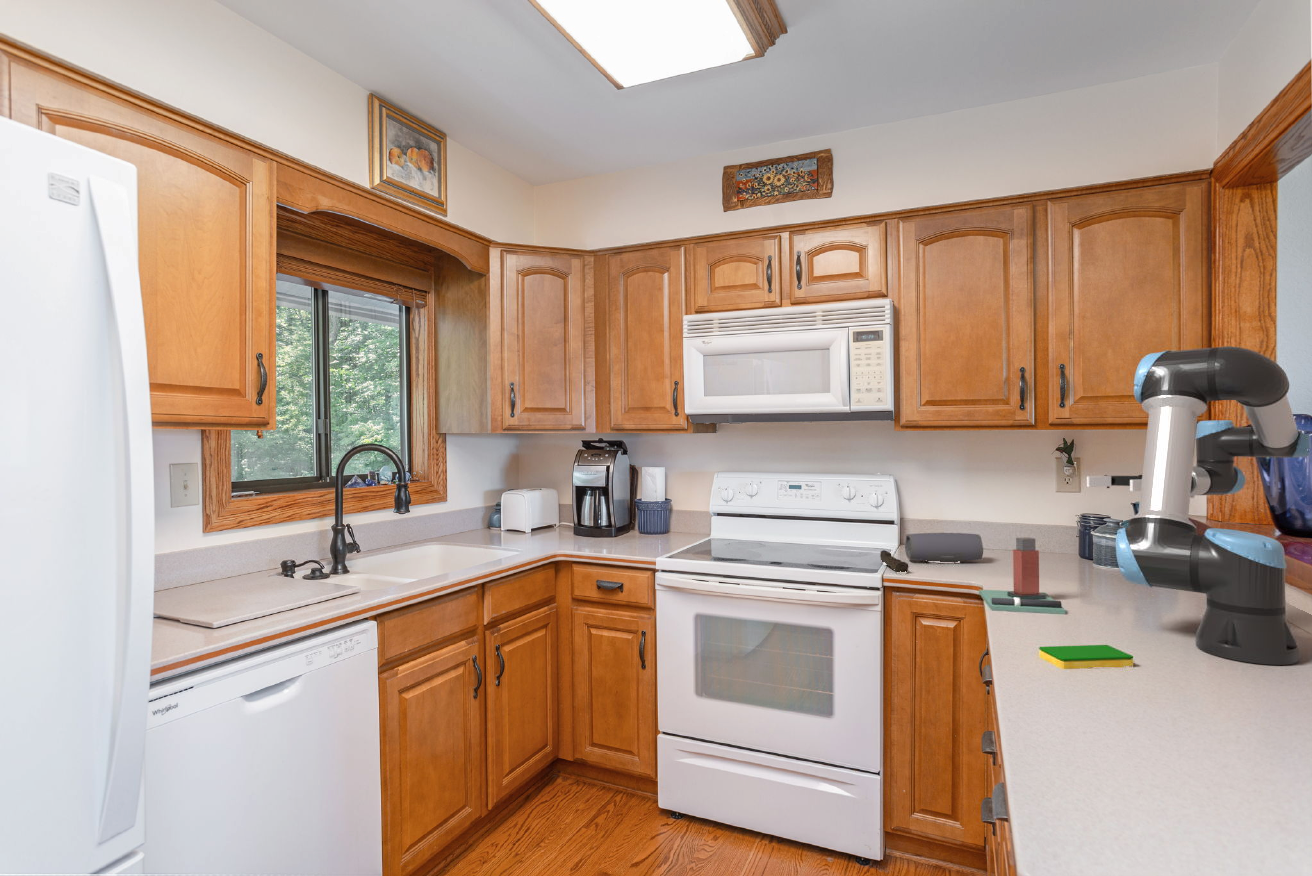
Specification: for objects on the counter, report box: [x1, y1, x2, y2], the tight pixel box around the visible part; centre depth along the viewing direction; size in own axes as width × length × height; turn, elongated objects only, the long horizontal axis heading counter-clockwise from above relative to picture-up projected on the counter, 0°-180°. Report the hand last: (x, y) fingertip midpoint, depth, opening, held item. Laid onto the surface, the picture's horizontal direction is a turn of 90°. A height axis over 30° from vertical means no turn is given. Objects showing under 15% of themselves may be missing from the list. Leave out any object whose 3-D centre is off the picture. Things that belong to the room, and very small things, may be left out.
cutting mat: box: [978, 589, 1066, 615], centre depth 172 cm, size 18×16×3 cm
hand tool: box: [879, 549, 909, 573], centre depth 218 cm, size 19×4×5 cm, turn 178°
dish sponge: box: [1038, 644, 1134, 670], centre depth 128 cm, size 7×14×2 cm, turn 93°
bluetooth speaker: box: [904, 532, 984, 562], centre depth 226 cm, size 23×9×10 cm, turn 84°
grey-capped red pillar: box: [1006, 537, 1047, 600], centre depth 173 cm, size 5×7×15 cm
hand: (1108, 483), depth 172 cm, fingers open, 13 cm apart
